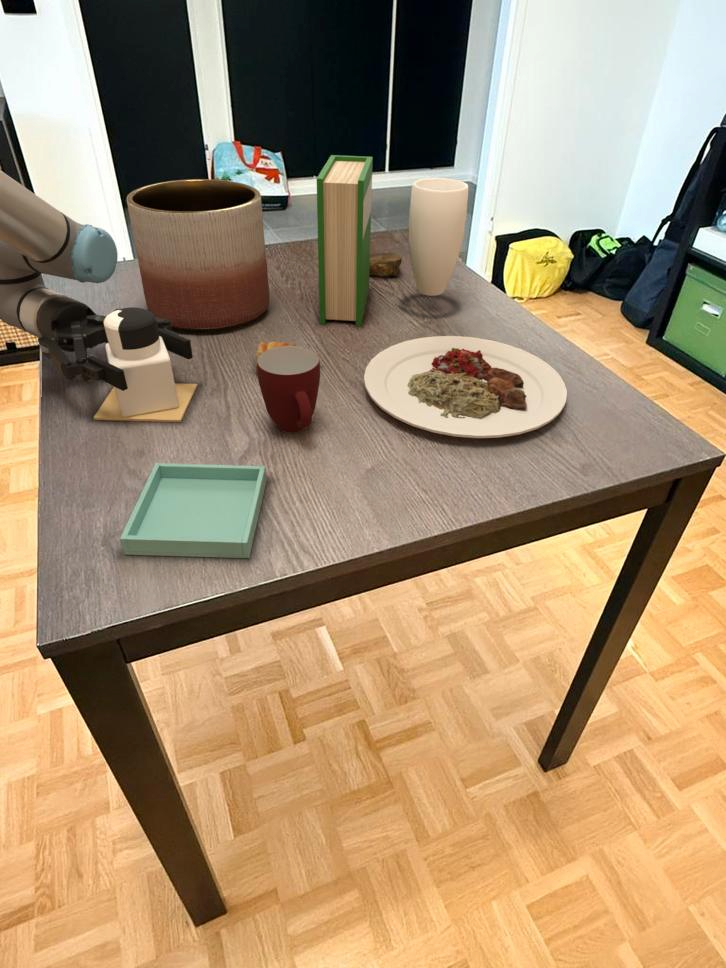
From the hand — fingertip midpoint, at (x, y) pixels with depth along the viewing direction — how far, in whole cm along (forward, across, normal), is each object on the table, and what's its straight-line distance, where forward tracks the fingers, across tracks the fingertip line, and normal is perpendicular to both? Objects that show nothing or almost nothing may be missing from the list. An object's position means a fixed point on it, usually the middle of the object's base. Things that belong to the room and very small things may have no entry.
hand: (157, 364), depth 83 cm
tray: (+20, +12, -7) cm, 25 cm away
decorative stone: (-10, -66, -8) cm, 67 cm away
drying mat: (-4, 0, -7) cm, 9 cm away
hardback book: (-3, -46, -8) cm, 47 cm away
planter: (-21, -28, -8) cm, 36 cm away
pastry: (+4, -20, -8) cm, 22 cm away
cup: (+9, -56, -8) cm, 57 cm away
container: (-4, 0, -7) cm, 8 cm away
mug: (+17, -8, -8) cm, 20 cm away
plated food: (+30, -31, -8) cm, 44 cm away
